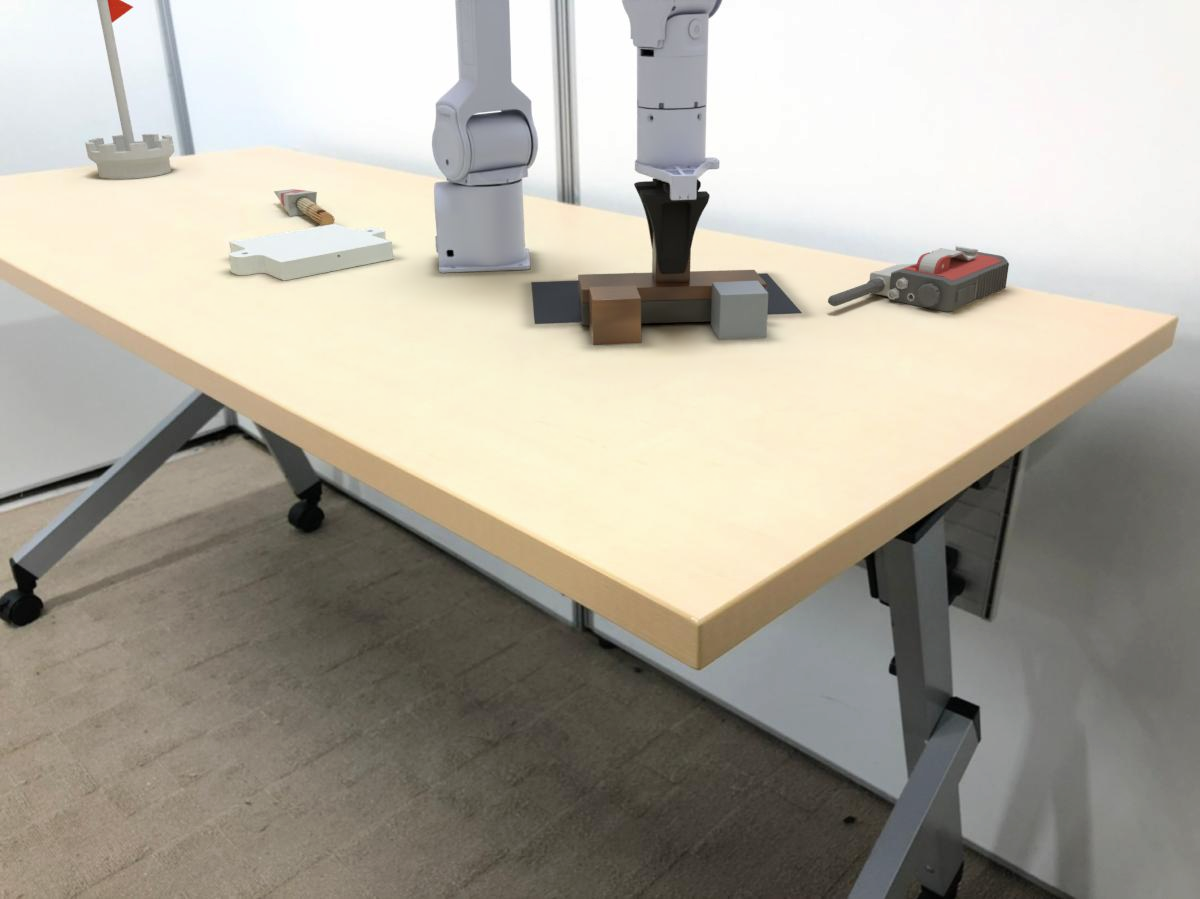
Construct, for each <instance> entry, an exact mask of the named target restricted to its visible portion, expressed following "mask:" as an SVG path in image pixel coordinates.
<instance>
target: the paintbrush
mask: <svg viewBox="0 0 1200 899" xmlns="http://www.w3.org/2000/svg"><path fill="white" fill-rule="evenodd" d="M273 193H274V194H275V196H276V197H277V199H278V200H279V202H280V203H281V204H282V206H283V208H284V209H285V210H286V213H288V215H289V217H294V216H301V215H306V216H307V217H309V218H310V219H312V220H313V221H314V222H316V223H317V224H319V225H320V226H325V225H331V224H335V217H334V216H333V214H332V213H330V212H328V211H327V210H325V209H324V208H323V207H321V206H319V205H318V204H317V194H318V192H317V191H312V190H305V189H304V190H303V189H296V188H293V189H291V188H290V189H282V190H274V191H273Z"/></svg>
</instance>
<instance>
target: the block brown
mask: <svg viewBox="0 0 1200 899" xmlns="http://www.w3.org/2000/svg"><path fill="white" fill-rule="evenodd" d="M589 314H590V325H589V332H590V337H591V341H592V345H593V346H598V345H599V346H601V345H602V346H603V345H623V344H624V345H625V344H642V323H641V297H640V295H639V293H638V290H637V288H636V286H635V285H633V286H607V287H589Z"/></svg>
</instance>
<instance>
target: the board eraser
mask: <svg viewBox="0 0 1200 899" xmlns="http://www.w3.org/2000/svg"><path fill="white" fill-rule="evenodd" d="M651 250H652V251H651V253H652V254H651V255H652V257H651V258H652V261H651V272H625V273H623V272H622V273H621V272H620V273H619V272H618V273H589V274H587V273H586V274H583V273H582V274H578V275H577V280H578V303H579V313H580V317H581V322H580V323H581V326H590V314H589V287H607V286H633V285H635V286H636V288H637V290H638V293H639V295H640V297H641V324H664V323H667V324H670V323H699V322H701V323H703V322H711V306H712V283H713V282H735V281H759V283H760V284H761V285H762V286H763V287H764V289H765V290H767V284H766V283H765V282H764V280H763V279H762V278H761V277H760V276H759V275H758V274H759V273H758V272H757V271H756V270H755V269H730V270H729V269H728V270H698V271H697V270H696V271H695V270H693V271H691V255H692V253H691V252H692V249H691V250H690V255H689V259H688V263H687V267H686V270H685V273H679V274H661V272H660V269H659V266H658V261H657V255H656V248H655V241H654V234H653V247H652V246H651Z"/></svg>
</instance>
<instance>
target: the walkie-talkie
mask: <svg viewBox="0 0 1200 899" xmlns="http://www.w3.org/2000/svg"><path fill="white" fill-rule="evenodd" d="M1009 267H1010V263H1009V261H1008V260H1007V258H1006V257H1004V256H1003V255H1000V254H999V255H998V254H993V253H986V252H980V251H979V250H978V249H977V248H970V247H965V246H958V245H956V246H955V249H949V248H944V247H941V248H937V249H935V250H932V251H931V252H925V253H923V254H921V255H920V256H919V257H918V259H917V262H916V263H905V264H895V265H892V266H889V267H886V268H883V269H880V270H875V271H872V272H870V274H869V280H868V281H867V282H866V283H864V284H861V285H858V286H854V287H853V288H850V289H846V290H844V291H841V292H838V293H835V294H832V295H830V296H829V297H828V298H827V303H828V304H829V305H830V306H832V307H838V306H841V305H844V304H847V303H848V302H852V301H855V300H857V299H860V298H862V297H865V296H868V295H870V294H871V295H874V294H875V295H878V296H883V297H887V298H888V300H890V301H891V302H892V301H893V302H895V303H900V304H905V305H906V304H907V305H910V306H915V307H920V308H924V309H929V310H934V311H939V312H943V313H951V312H953V311H956V310H958V309H961V308H962V307H963V308H964V307H965V306H968V305H970V304H972V303H974V302H977V301H979V300H981V299H984V298H987V297H989V296H991V295H993V294H995V293H998V292H1000V291H1002V290H1005V289H1006V288H1007V281H1008V275H1009Z"/></svg>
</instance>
